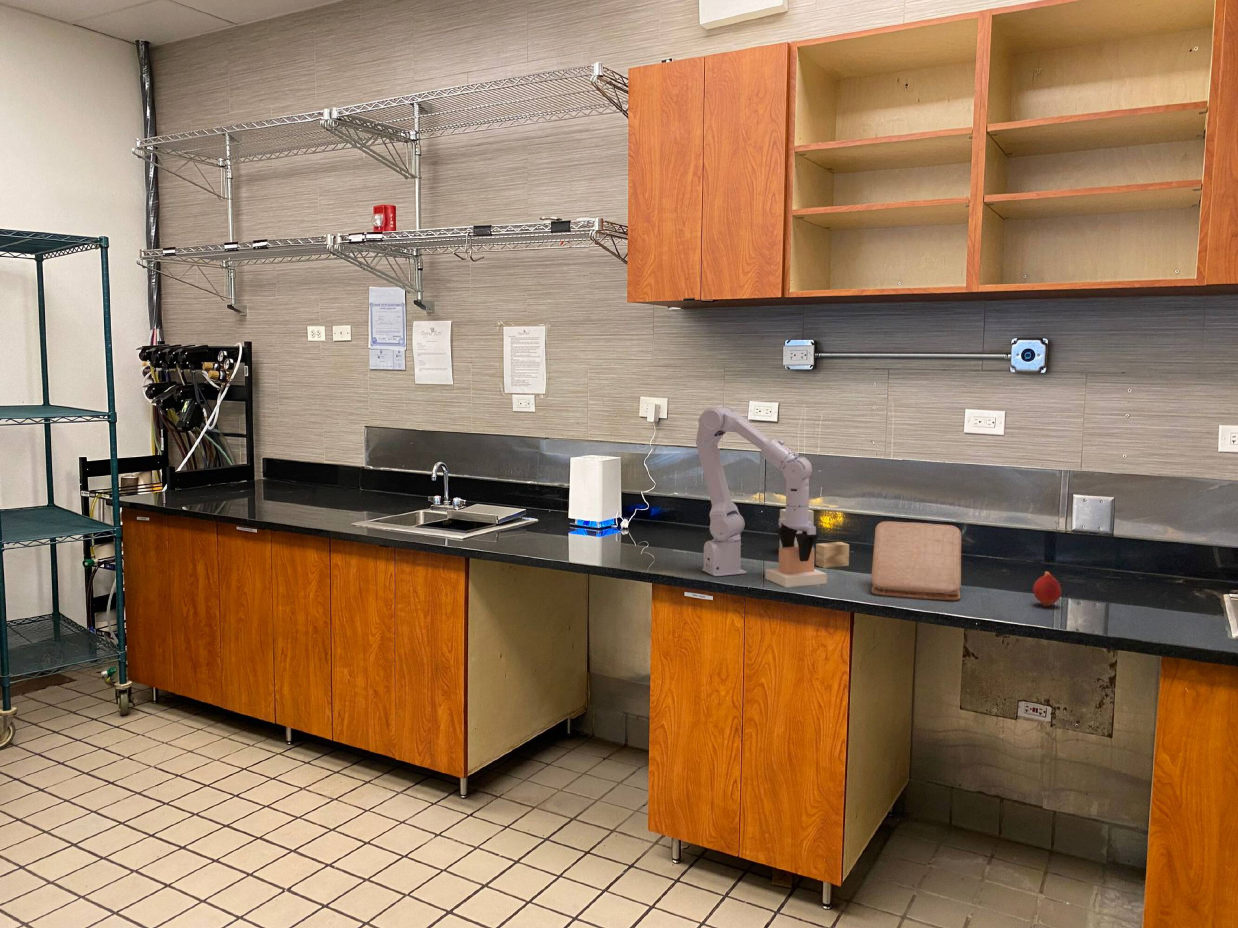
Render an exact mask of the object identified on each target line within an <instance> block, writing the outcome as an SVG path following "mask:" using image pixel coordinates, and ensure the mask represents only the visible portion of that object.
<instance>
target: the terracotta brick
mask: <svg viewBox="0 0 1238 928" xmlns="http://www.w3.org/2000/svg"><path fill="white" fill-rule="evenodd" d="M815 552H816V548H814V547H813V548H812V550H811V553H810V557H809V560H808V561H800V558H799V547H798V546H796V547H784V548H780V547H778V568H779V571H780V572H783V573H785V574H795V573H805V572H814V569H815Z"/></svg>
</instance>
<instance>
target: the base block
mask: <svg viewBox="0 0 1238 928" xmlns="http://www.w3.org/2000/svg"><path fill="white" fill-rule="evenodd" d="M765 579H766V580H768V581H771V582H773V583H775V584H777V585H779V586H781V587H784V588H792V587H803V586H811V585H812V586H813V585H821V584H823V585H824V584H827V583H828V573H826V572H823V571H821V570H820V569H819V570H818V569H816V568H814V572H805V573H795V574H785V573H783V572H780V571H779V567H775V568H773V567H772V568H765Z"/></svg>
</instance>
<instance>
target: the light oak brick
mask: <svg viewBox="0 0 1238 928" xmlns="http://www.w3.org/2000/svg"><path fill="white" fill-rule="evenodd" d="M849 564H850V544H848V543H846V542H842V541H836V542H834V541H833V542H822V543H816V544H815V566H818V567H821V568H823V569H826V568H827V569H829V568H840V567H847V566H848V567H849Z"/></svg>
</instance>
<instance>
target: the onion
mask: <svg viewBox="0 0 1238 928" xmlns="http://www.w3.org/2000/svg"><path fill="white" fill-rule="evenodd" d="M1043 573H1044V575H1042V576H1040V577H1039V578H1038V579H1036V580H1035V582H1034V584H1033V587H1032V593H1033V595H1034V597H1035V599H1036V600H1038V602H1040V603H1041V604H1042V606H1044V607H1049V606H1051V605H1054V604H1055V603H1056V602H1058V600H1059V599H1060V598H1061V596H1062V588H1061V585H1060V582H1059V581H1058V580H1057V579H1056V578H1055V577H1054V576H1053V575H1052V574H1051V573H1050V572H1049V571H1044V572H1043Z"/></svg>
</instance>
